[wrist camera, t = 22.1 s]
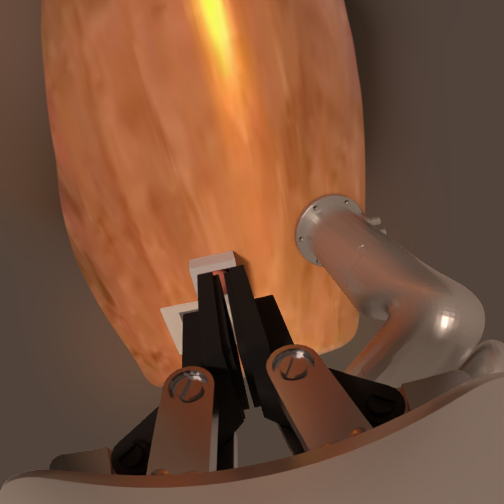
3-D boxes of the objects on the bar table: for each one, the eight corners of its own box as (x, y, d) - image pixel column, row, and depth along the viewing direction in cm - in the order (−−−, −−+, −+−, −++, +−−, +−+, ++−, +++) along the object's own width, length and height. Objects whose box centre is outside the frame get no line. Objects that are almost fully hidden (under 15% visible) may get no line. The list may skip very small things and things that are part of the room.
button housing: (232, 250, 45) (234, 259, 43) (240, 286, 49) (242, 296, 46) (189, 259, 45) (189, 269, 42) (199, 295, 48) (200, 305, 45)
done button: (225, 262, 45) (227, 272, 43) (230, 283, 47) (232, 293, 45) (200, 267, 45) (201, 277, 42) (206, 288, 47) (207, 298, 44)
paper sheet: (238, 292, 49) (238, 293, 49) (248, 340, 55) (249, 341, 54) (160, 308, 48) (160, 309, 47) (180, 354, 53) (180, 355, 53)
